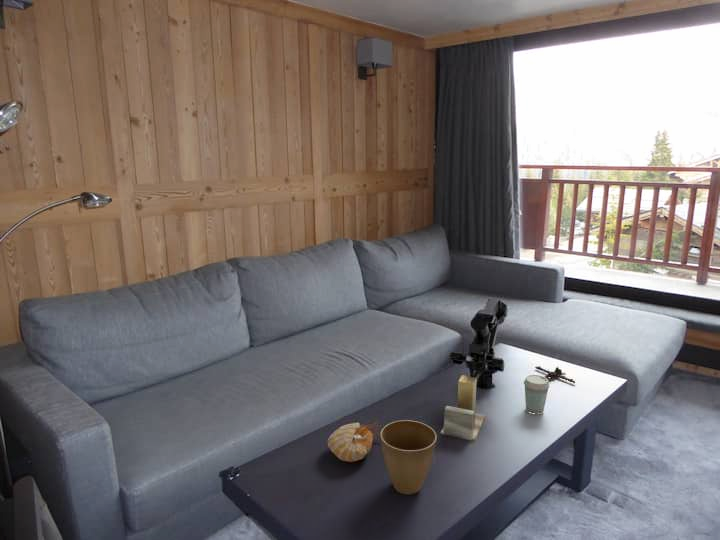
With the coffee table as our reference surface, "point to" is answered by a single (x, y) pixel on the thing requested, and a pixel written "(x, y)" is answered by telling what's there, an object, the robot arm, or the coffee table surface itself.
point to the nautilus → (352, 441)
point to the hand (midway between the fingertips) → (472, 383)
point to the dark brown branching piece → (554, 374)
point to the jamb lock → (462, 423)
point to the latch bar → (467, 393)
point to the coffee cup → (535, 393)
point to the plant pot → (408, 453)
